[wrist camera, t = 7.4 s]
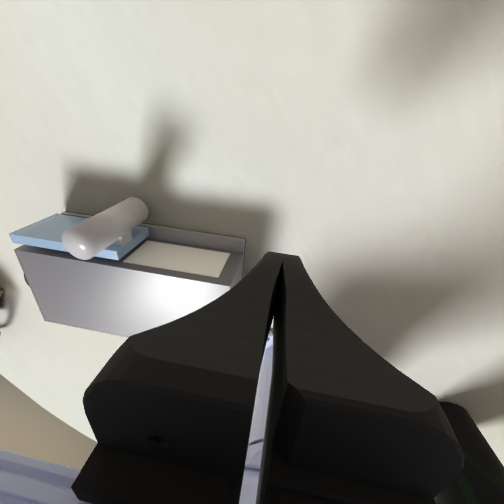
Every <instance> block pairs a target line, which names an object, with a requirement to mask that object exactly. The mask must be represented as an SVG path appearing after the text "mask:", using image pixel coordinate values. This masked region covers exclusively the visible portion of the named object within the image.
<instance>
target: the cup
mask: <svg viewBox="0 0 504 504" xmlns="http://www.w3.org/2000/svg"><path fill="white" fill-rule="evenodd" d="M439 404H440V406H441V407H442V409H443V411H444V413H445V415H446V417H447V418H448V421H449V423H450V425H451V427H452V429H453V431H454V434H455V436H456V438H457V440H458V443H459V445H460V447H461V449H462V451H463V453H464V455H465V457H464V466H463V468H462V470H461V471H460V473H459V474H458V476H457V477H456V478H455V479H454V480H453V481H452V482H451V483H450V484H449V485H448V486H447V487H446V488H445V489H443V490H442V491H441V492H440V493H439V494H438V495H437V496H436V497H435V498H434V500H435V502H436V504H504V467H503V465H502V464H501V462H500V460H499V459H498V457H497V456H496V454H495V453H494V451H493V450H492V448H491V447H490V445H489V444H488V442H487V441H486V439H485V438H484V436H483V435H482V433H481V432H480V430H479V429H478V427H477V426H476V424H475V423H474V421H473V420H472V418H471V417H470V415H469V414H468V412H467V411H466V410H465V409H464V408H463V407H461V406H459V405H457V404H453V403H449V402H439Z"/></svg>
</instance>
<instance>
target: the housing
mask: <svg viewBox="0 0 504 504" xmlns="http://www.w3.org/2000/svg"><path fill="white" fill-rule="evenodd" d="M61 214H62V215H69V216H75V217H82V218H90V217H92V216H91V215H84V214H77V213H71V212H63V213H61ZM138 226H141V227H148V231H149V236H148V237H146V238H145V239H144V240H143V241H141V242H140V243H139V244H138V245H137V246H135V247H134V248H133V249H132V250H130V251H129V252H128V253H127V254H126V255H124V256H123V257H122V258H121V259H120V260H113V259H107V258H101V257H95V256H94V257H92V258H91V259H88V260H82V259H79V258H76V257H75V256H73V255H72V254H70V253H69V252H66V251H60V250H54V249H48V248H42V247H36V246H30V245H22V246H20V247H18V248H16V249H14V251H15V253H16V256H17V258H18V260H19V263H20V265H21V267H22V270H23V272H24V278H25V281H26V283H27V284H28V285H29V286H30V288H31V290H32V293H33V295H34V297H35V300H36V302H37V304H38V307H39V309H40V311H41V314H42V316H43V318H44V320H45V321H48V322H53V323H58V324H63V325H68V326H73V327H78V328H83V329H88V330H93V331H98V332H103V333H108V334H113V335H118V336H123V337H128V338H129V337H130V336H131V335H134V334H138V333H141V332H144V331H146V330H149V329H152V328H155V327H158V326H161V325H164V324H166V323H169V322H171V321H174V320H176V319H179V318H181V317H183V316H185V315H188V314H190V313H192V312H194V311H196V310H198V309H200V308H202V307H203V306H205V305H207V304H209V303H210V302H212V301H214V300H215V299H217V298H218V297H220V296H221V295H223V294H224V293H226V292H227V291H228V290H230V289H231V288H232V287H234V286H235V285H236V284H237V283H238V282H239V281H241V280H242V275H243V262H244V249H245V239H244V238H237V237H231V236H224V235H217V234H211V233H204V232H197V231H191V230H184V229H177V228H171V227H164V226H157V225H151V224H144V223H140V224H139V225H138Z"/></svg>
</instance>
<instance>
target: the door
mask: <svg viewBox="0 0 504 504" xmlns="http://www.w3.org/2000/svg"><path fill="white" fill-rule="evenodd" d="M148 214H149V211H148V208H147V206H146V204H145V203H144V202H143V201H142V200H141V199H139V198H136V197H130V198H128V199H126V200H124V201H122V202H120V203H118V204H116V205H114V206H112V207H110V208H108V209H106V210H104V211H102V212H100V213H98V214H96V215H94V216H92V217H90V218H82V217H75V216H69V215H62V214H55V215H52V216H50V217H48V218H45V219H43V220H41V221H38V222H36V223H33V224H31V225H29V226H26V227H24V228H22V229H19V230H17V231H15V232H12V233H10V234H9V235H10V238H11V240H12V242H13V243H18V244H24V245H30V246H36V247H42V248H48V249H54V250H60V251H66V252H69V253H70V254H72V255H73V256H75V257H76V258H79V259H82V260H88V259H91V258H92V257H94V256H95V257H101V258H107V259H113V260H120V259H121V258H122V257H123V256H124V255H126V254H127V253H128V252H129V251H130V250H132V249H133V248H134V247H135V246H137V245H138V244H139V243H140V242H141V241H143V240H144V239H145V238H146V237H148V236H149V231H148V227H141V226H138V225H139V224H140V223H142V222H143V221H145V220H146V219H147V217H148Z"/></svg>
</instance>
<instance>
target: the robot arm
mask: <svg viewBox="0 0 504 504" xmlns="http://www.w3.org/2000/svg"><path fill="white" fill-rule="evenodd" d="M273 316H274V321H273V333H269V331H270V327H271V324H272V320H273ZM268 337H269V338H268ZM83 405H84V409H85V414H86V416H87V418H88V421H89V423H90V425H91V428H92V430H93V432H94V435H95V437H96V439H97V442H98V443H97V445H96V447H95V448H94V450H93V452H92V453H91V455H90V456H89V458H88V460H87V461H86V463H85V465H84V466H83V468H82V470H79V469H75V468H71V467H67V466H63V465H60V464H56V463H52V462H48V461H45V460H41V459H37V458H33V457H29V456H25V455H22V454H18V453H14V452H10V451H6V450H3V449H0V504H436V502H435V500H434V498H435V497H436V496H437V495H438V494H439V493H440V492H441V491H442V490H443V489H445V488H446V487H447V486H448V485H449V484H450V483H451V482H452V481H453V480H454V479H455V478H456V477H457V476H458V474H459V473H460V471H461V470H462V468H463V466H464V457H465V455H464V453H463V451H462V449H461V447H460V445H459V443H458V440H457V438H456V436H455V434H454V431H453V429H452V427H451V425H450V423H449V421H448V418H447V417H446V415H445V413H444V411H443V409H442V407H441V406H440V404H439V402H438V400H437V398H436V397H435V396H434V395H433V394H432V393H430V392H429V391H427V390H426V389H425V388H423V387H422V386H420V385H419V384H417V383H416V382H415V381H413V380H412V379H410V378H409V377H407V376H406V375H405V374H403V373H402V372H400V371H399V370H397V369H396V368H395V367H393V366H392V365H391V364H390V363H388V362H387V361H386V360H385V359H383V358H382V357H381V356H380V355H378V354H377V353H376V352H375V351H373V350H372V349H371V348H370V347H369V346H368V345H367V344H365V343H364V342H363V341H362V340H361V339H360V338H359V337H358V336H357V335H356V334H355V333H354V332H352V331H351V330H350V329H349V328H348V327H347V326H346V325H345V324H344V323H343V322H342V321H341V319H340V318H339V317H338V316H337V315H336V314H335V313H334V311H333V310H332V309H331V308H330V307H329V305H328V304H327V303H326V302H325V300H324V299H323V297H322V296H321V295H320V293H319V292H318V290H317V289H316V287H315V285H314V284H313V282H312V280H311V279H310V277H309V275H308V273H307V271H306V270H305V268H304V266H303V263H302V261H301V259H300V257H299V256H295V255H288V254H282V253H275V252H269V251H268V252H267V253H265V255H264V256H263V258H262V259H261V260H260V261H259V263H258V264H257V265H256V266H255V267H254V268H253V269H252V270H251V271H250V272H249V273H248V274H247V275H246V276H245V277H244V278H243V279H242V280H241V281H239V282H238V283H237V284H236V285H235V286H234V287H232V288H231V289H230V290H228V291H227V292H226V293H224V294H223V295H221V296H220V297H218V298H217V299H215V300H214V301H212V302H210V303H209V304H207V305H205V306H203V307H202V308H200V309H198V310H196V311H194V312H192V313H190V314H188V315H185V316H183V317H181V318H179V319H176V320H174V321H171V322H169V323H166V324H164V325H161V326H158V327H155V328H152V329H149V330H146V331H144V332H141V333H138V334H134V335H131V336H130V337H129V338H128V339H127V340H126V341H125V342H124V343H123V344H122V345H121V346H120V347H119V349H118V350H117V351H116V352H115V353H114V354H113V356H112V357H111V358H110V359H109V361H108V362H107V363H106V365H105V366H104V367H103V368H102V370H101V371H100V372H99V374H98V375H97V376H96V378H95V379H94V380H93V382H92V383H91V384H90V385H89V387H88V388H87V389H86V391H85V393H84V397H83Z"/></svg>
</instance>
